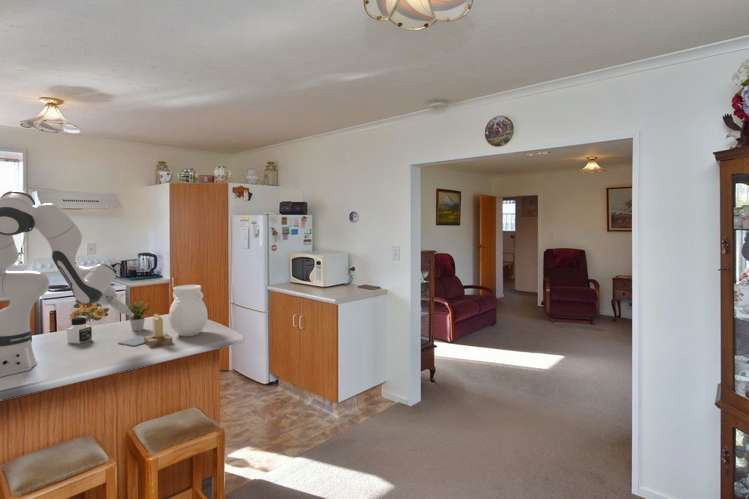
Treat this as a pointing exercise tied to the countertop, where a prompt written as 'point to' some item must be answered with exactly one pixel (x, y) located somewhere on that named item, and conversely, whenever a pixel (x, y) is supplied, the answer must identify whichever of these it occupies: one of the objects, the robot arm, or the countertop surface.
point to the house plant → (137, 317)
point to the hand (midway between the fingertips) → (130, 313)
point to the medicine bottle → (79, 331)
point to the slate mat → (133, 341)
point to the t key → (157, 327)
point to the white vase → (188, 310)
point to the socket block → (158, 340)
